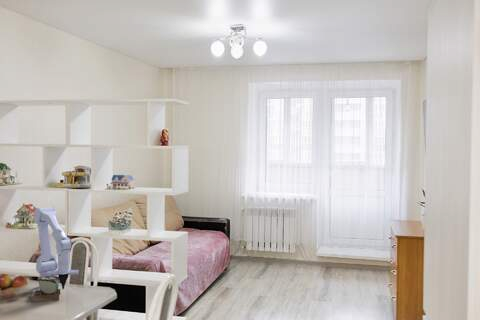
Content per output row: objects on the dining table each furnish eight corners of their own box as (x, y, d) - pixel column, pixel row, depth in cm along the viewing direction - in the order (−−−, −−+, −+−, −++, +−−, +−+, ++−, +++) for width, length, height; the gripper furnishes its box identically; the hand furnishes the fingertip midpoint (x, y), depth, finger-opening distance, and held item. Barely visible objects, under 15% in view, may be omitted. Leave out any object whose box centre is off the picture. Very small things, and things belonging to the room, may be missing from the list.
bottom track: (33, 295, 245) (33, 289, 244) (60, 293, 249) (60, 287, 249) (31, 301, 234) (31, 295, 234) (59, 300, 238) (59, 294, 238)
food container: (65, 295, 244) (65, 276, 243) (57, 299, 238) (56, 280, 238) (47, 292, 249) (46, 273, 248) (38, 296, 243) (37, 277, 242)
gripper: (48, 265, 237) (47, 292, 237) (78, 263, 242) (77, 290, 242) (49, 262, 244) (48, 288, 244) (78, 260, 248) (78, 286, 249)
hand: (63, 288), depth 244 cm, fingers closed
